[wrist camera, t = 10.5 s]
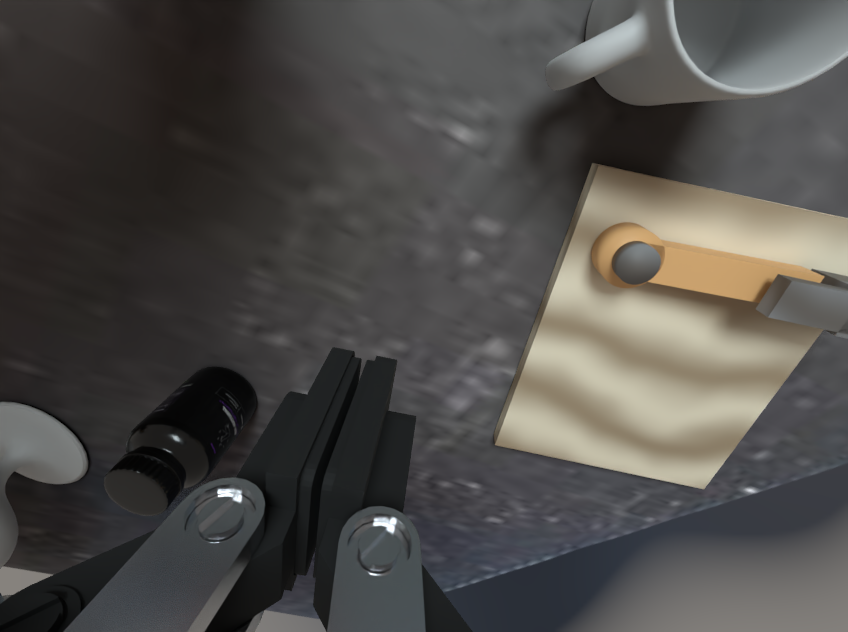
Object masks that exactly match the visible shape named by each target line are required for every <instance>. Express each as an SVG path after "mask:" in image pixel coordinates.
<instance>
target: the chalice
mask: <svg viewBox="0 0 848 632" xmlns="http://www.w3.org/2000/svg"><path fill="white" fill-rule="evenodd" d="M87 470H88V458H87V454H86V452H85V450H84V448H83V446H82V444H81V443H80V441H79V440H78V439H77V437H76V436H75V435H74V434H73V433H72V432H71V431H70V430H69V429H68V428H67V427H66V426H65V425H63V424H62V423H61V422H59V421H58V420H56V419H55V418H54V417H52V416H50V415H48V414H46V413H45V412H43V411H41V410H38V409H36V408H33V407H31V406H28V405H24V404H20V403H16V402H0V568H1V567H2V566H3V565H4V564H5V563H6V562H7V561H8V560H9V558H10V556H11V555H12V553H13V551H14V549H15V546H16V544H17V539H18V524H17V520H16V516H15V513H14V511H13V509H12V507H11V505H10V503H9V501H8V499H7V497H6V494H5V485H6V482H7V479H8V478H9V477H10V475H11V474H12V473H13V472H14V471H15V472H17V473H19V474H21V475H23V476H25V477H28V478H31V479H33V480H36V481H40V482H44V483H49V484H67V483H72V482H75V481H78V480H79V479H81V478H82V477H83V476H84V475H85V473H86V471H87Z"/></svg>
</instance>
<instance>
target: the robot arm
mask: <svg viewBox="0 0 848 632" xmlns="http://www.w3.org/2000/svg"><path fill="white" fill-rule="evenodd" d="M396 365H397V360H395V359H390V358H385V357H380V356H376V359H375V361H371V360H367V362H366V364H365V367H364V370H363V373H362V375H361V378H360V381H359V375H360V368H361V358H356V357H355V352H354V351H350V350H345V349H340V348H335V347H333V348H332V350H331V351H330V353H329V355H328V357H327V359H326V361H325V363H324V364H323V366H322V368H321V370H320V372H319V374H318V376H317V377H316V379H315V381H314V383H313V385H312V387H311V389H310V391H309V392H308V394H307V395H306V394H301V393H296V392H289V393H288V394H287V395H286V397H285V398H284V400H283V401H282V403H281V405H280V406H279V408H278V410H277V411H276V413H275V415H274V416H273V418H272V419H271V421H270V423H269V424H268V426H267V428H266V429H265V431H264V433H263V434H262V436H261V438H260V439H259V441H258V442H257V444H256V446H255V447H254V449H253V451H252V452H251V454H250V456H249V457H248V459H247V461H246V462H245V464H244V465H243V467H242V469H241V470H240V472H239V474H238V475H237V477H236V478H235V477H234V478H221V479H218V480H214V481H211V482H208V483H206V484H204V485H202V486H201V487H199V488H197V489H195V490H194V491H193V492H192V493H191V494H189V495H188V496H187V497H186V498H185V499H184V500H183V501H182V502H181V503H180V504H179V505H178V506H177V507H176V509H175V510H174V511H173V512H172V513H171V514H170V515H169V516H168V517H167V518H166V520H165V521H164V522H163V523H162V524H161V525H160V526H159V527H158V528H157V529H156V530H154V531H152V532H149V533H147V534H145V535H143V536H140V537H138V538H136V539H134V540H131V541H129V542H127V543H125V544H122V545H120V546H118V547H116V548H113V549H111V550H109V551H107V552H104V553H102V554H100V555H98V556H95V557H93V558H91V559H89V560H86V561H84V562H82V563H80V564H77V565H75V566H73V567H71V568H68V569H66V570H64V571H62V572H59V573H57V574H55V575H53V576H50V577H48V578H46V579H44V580H42V581H39V582H38V583H35V584H32V585H30V586H29V587H27V588H25V589H23V590H21V591H20V592H17V593H16V594H14V595H7V596H2V595H1V593H0V632H255V630H256V628H257V626H258V624H259V622H260V620H261V618H262V615H263V612H264V610H265V609H267V608H268V607H270V606H271V605H273V604H274V603H276V602H277V601H279V600H280V599H281V598H282V595H283V592H284V590H290V591H292V588H293V585H294V582H295V579H296V577H297V574H299V575H304V576H306V574H307V572H308V569H309V566H310V563H311V560H312V557H313V554H314V551H315V548H316V551H315V562H314V573H313V577H314V578H316V582H315V592H314V602H313V606H314V608H315V610H316V612H317V614H318V616H319V618H320V620H321V622H322V624H323V625H324V627H325V629H326V632H472V630H471V629H470V628H469V626H468V625H467V624H466V622H465V621H464V620H463V618H462V617H461V616H460V614H459V613H458V612H457V610H456V609H455V608H454V606H453V605H452V604H451V602H450V601H449V600H448V598H447V597H446V596H445V594H444V593H443V592H442V590H441V589H440V588H439V586H438V585H437V584H436V582H435V581H434V580H433V578H432V577H431V576H430V574H429V573H428V572H427V570H426V569H425V568H424V566H423V565H422V563H421V546H420V540H419V536H418V532H417V530H416V528H415V527H414V525H413V523H412V522H411V521H410V520H409V519H408V518H407V517H406V516H405V515H404V514H403V507H404V500H405V493H406V486H407V479H408V472H409V465H410V458H411V451H412V444H413V437H414V430H415V422H416V416H412V415H407V414H402V413H397V412H392V411H388V409H389V404H390V398H391V393H392V387H393V382H394V376H395V371H396Z"/></svg>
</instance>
